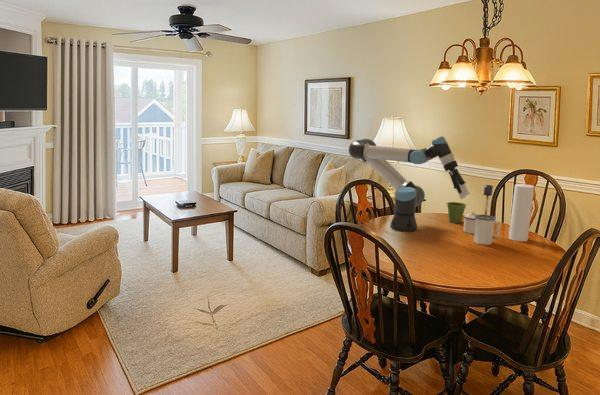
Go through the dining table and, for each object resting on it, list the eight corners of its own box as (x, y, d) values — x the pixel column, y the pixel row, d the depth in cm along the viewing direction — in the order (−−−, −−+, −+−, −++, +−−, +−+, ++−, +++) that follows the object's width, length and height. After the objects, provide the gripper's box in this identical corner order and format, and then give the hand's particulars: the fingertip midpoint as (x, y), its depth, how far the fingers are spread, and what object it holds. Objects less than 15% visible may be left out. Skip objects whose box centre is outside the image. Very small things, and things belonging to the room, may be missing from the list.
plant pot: (468, 222, 288) (470, 204, 286) (459, 225, 280) (460, 206, 278) (451, 218, 296) (452, 201, 294) (441, 221, 288) (442, 203, 286)
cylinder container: (528, 238, 255) (535, 184, 249) (526, 242, 247) (533, 187, 241) (509, 235, 260) (516, 182, 254) (507, 239, 252) (513, 185, 246)
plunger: (478, 223, 243) (481, 185, 239) (479, 220, 248) (483, 184, 244) (490, 224, 240) (494, 186, 236) (491, 222, 245) (495, 185, 241)
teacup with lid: (481, 234, 260) (483, 214, 258) (464, 233, 262) (466, 213, 260) (476, 229, 272) (478, 209, 270) (460, 228, 274) (462, 208, 271)
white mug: (472, 242, 245) (474, 217, 242) (474, 238, 253) (477, 213, 250) (497, 246, 239) (499, 220, 236) (499, 242, 247) (501, 216, 244)
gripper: (451, 161, 251) (468, 196, 249) (459, 158, 273) (474, 191, 271) (438, 167, 254) (455, 202, 253) (447, 163, 276) (462, 196, 274)
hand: (465, 196), depth 262 cm, fingers open, 13 cm apart
